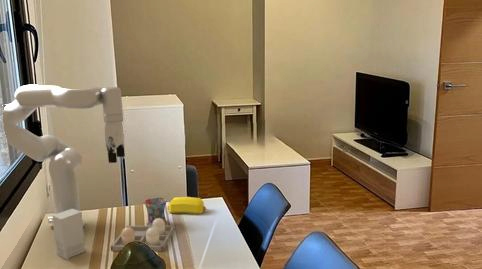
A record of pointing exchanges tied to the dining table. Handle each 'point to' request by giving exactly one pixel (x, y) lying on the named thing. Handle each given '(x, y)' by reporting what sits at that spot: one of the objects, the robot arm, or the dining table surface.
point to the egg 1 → (127, 235)
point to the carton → (141, 236)
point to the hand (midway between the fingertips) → (116, 159)
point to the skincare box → (69, 233)
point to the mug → (155, 209)
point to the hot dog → (186, 205)
